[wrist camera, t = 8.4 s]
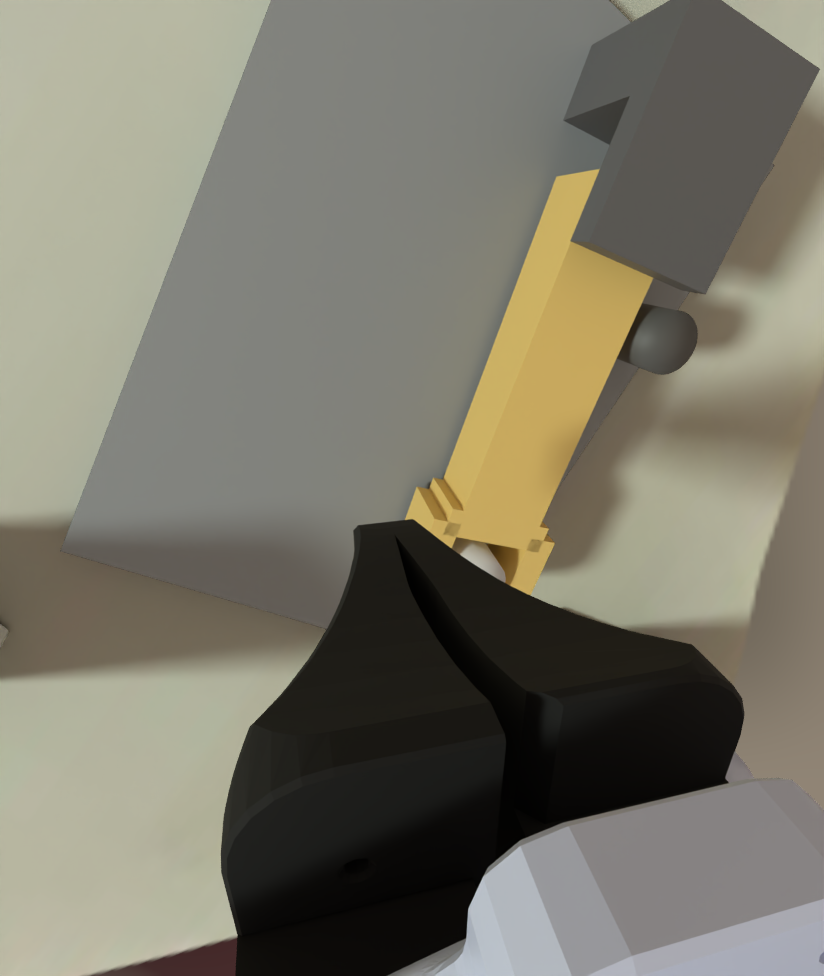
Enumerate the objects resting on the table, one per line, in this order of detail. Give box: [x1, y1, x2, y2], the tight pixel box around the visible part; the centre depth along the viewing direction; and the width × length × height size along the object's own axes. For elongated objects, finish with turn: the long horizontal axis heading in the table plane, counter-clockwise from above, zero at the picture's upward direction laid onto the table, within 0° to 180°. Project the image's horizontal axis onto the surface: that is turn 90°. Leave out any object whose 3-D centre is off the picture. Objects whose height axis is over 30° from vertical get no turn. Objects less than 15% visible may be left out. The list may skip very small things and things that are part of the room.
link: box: [405, 169, 653, 595], centre depth 19 cm, size 15×5×3 cm, turn 161°
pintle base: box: [60, 0, 820, 629], centre depth 17 cm, size 16×23×6 cm
